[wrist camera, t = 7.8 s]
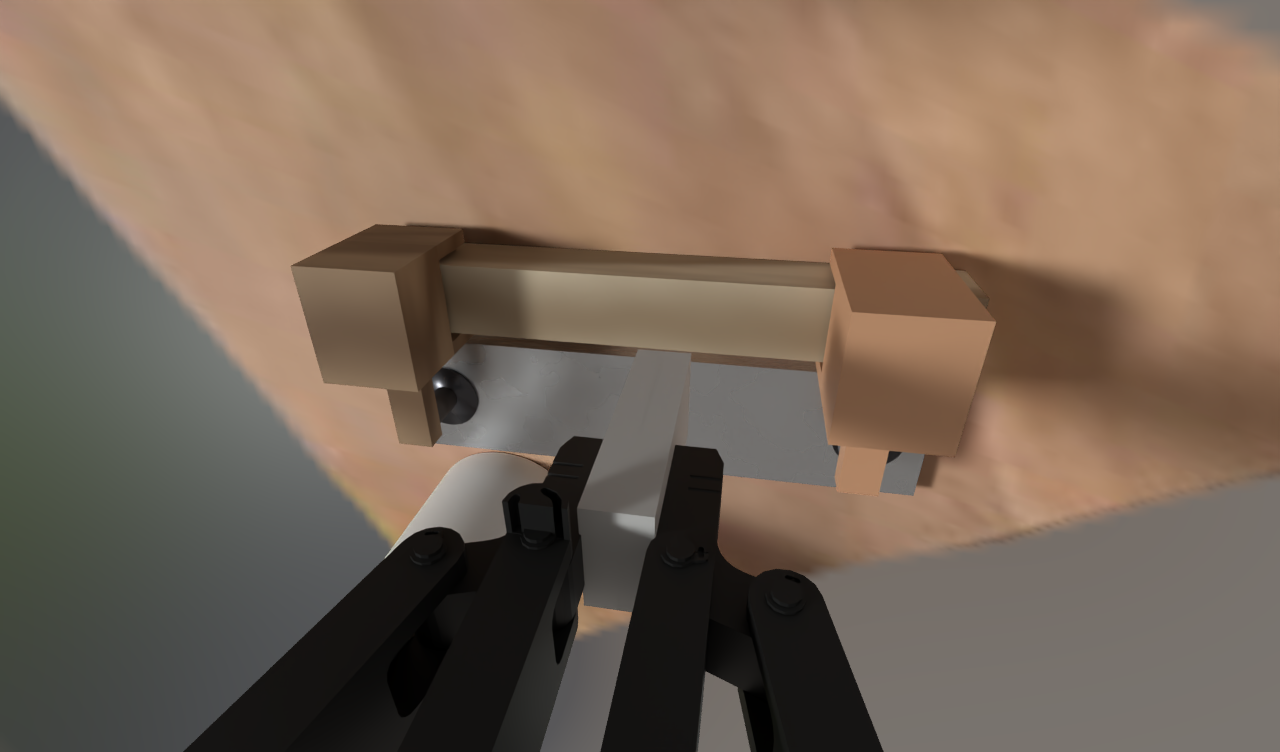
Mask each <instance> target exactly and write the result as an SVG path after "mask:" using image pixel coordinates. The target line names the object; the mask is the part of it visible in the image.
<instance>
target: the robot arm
mask: <svg viewBox="0 0 1280 752" xmlns="http://www.w3.org/2000/svg"><path fill="white" fill-rule="evenodd" d="M690 371H691V353H679V352H667V351H654V350H641V349H638V351H637V353H636V356H635V358H634V361H633V364H632V366H631V369H630V371H629V374H628V377H627V379H626V382H625V385H624V387H623V390H622V392H621V395H620V398H619V400H618V403H617V405H616V408H615V411H614V413H613V416H612V418H611V421H610V424H609V426H608V429H607V431H606V434H605V437H604V439H599V438H590V437H580V436H573V437H572V438H571V439H570V440H568V441H567V442H566V443H565V444H564V445H562V446H561V447H560V448H559V450H558V453H557V455H556V457H555V459H554V461H553V464H552V465H551V467H550V469H549V471H548V475H547V476H546V478H545V480H544V482H543V483H531V484H527V485H523V486H520V487H518V488H516V489H514V490H513V491H511V492H509V493H508V494H507V496H506V497H505V498H504V499H503V500H502V506H503V513H504V519H505V525H506V534H505V535H504V536H502V537H499V538H496V539H491V540H485V541H478V542H470V543H464V540H463V539H462V537H461V535H460V534H459V533H458V532H456V531H455V530H453V529H451V528H445V527H433V528H426V529H424V530H421V531H418V532H416V533H414V534H412V535H411V536H409V537H408V538H407V539H405V540H404V541H403V542H402V543H400V544H399V545H398V546H397V547H396V548H395V549H394V550H393V551H392V552H391V553H390V554H389V555H388V556H387V557H386V558H385V559H384V560H383V561H382V562H381V563H380V564H379V565H378V566H376V568H374V569H373V570H372V571H371V572H370V573H369V574H368V575H367V576H366V577H365V578H364V579H363V580H362V581H361V582H360V583H359V584H358V585H357V586H356V587H355V588H354V589H353V590H351V591H350V592H349V593H348V594H347V595H346V596H345V597H344V598H343V599H342V600H341V601H340V602H339V603H338V604H337V605H336V606H335V607H334V608H333V609H332V610H331V611H330V612H329V613H327V615H325V616H324V617H323V618H322V619H321V620H320V621H319V622H318V623H317V624H316V625H315V626H314V627H313V628H312V629H311V630H310V631H309V632H308V633H307V634H306V635H305V636H304V637H302V639H300V640H299V641H298V642H297V643H296V644H295V645H294V646H293V647H292V648H291V649H290V650H289V651H288V652H287V653H286V654H285V655H284V656H283V657H282V658H281V659H280V660H278V661H277V662H276V663H275V664H274V665H273V666H272V667H271V668H270V669H269V670H268V671H267V672H266V673H265V674H264V675H263V676H262V677H261V678H260V679H259V680H258V681H257V682H256V683H255V684H253V685H252V686H251V687H250V688H249V689H248V690H247V691H246V692H245V693H244V694H243V695H242V696H241V697H240V698H239V699H238V700H237V701H236V702H235V703H234V704H233V705H232V706H230V707H229V708H228V709H227V710H226V711H225V712H224V713H223V714H222V715H221V716H220V717H219V718H218V719H217V720H216V721H215V722H214V723H213V724H212V725H211V726H210V727H209V728H208V729H207V730H205V731H204V732H203V733H202V734H201V735H200V736H199V737H198V738H197V739H196V740H195V741H194V742H193V743H192V744H191V745H190V746H189V747H188V748H187V749H186V750H185V751H184V752H540V749H541V746H542V742H543V739H544V736H545V733H546V729H547V726H548V723H549V720H550V716H551V713H552V710H553V707H554V703H555V700H556V697H557V694H558V690H559V687H560V684H561V681H562V677H563V674H564V671H565V667H566V664H567V661H568V657H569V654H570V651H571V648H572V644H573V641H574V638H575V635H576V631H577V628H578V609H577V607H578V604H579V601H580V598H581V595H582V592H583V596H584V605H586V606H593V607H600V608H607V609H614V610H621V611H628V612H632V616H631V620H630V624H629V629H628V633H627V638H626V642H625V646H624V651H623V655H622V660H621V664H620V668H619V673H618V677H617V681H616V686H615V690H614V695H613V699H612V704H611V708H610V712H609V717H608V721H607V726H606V730H605V735H604V739H603V743H602V748H601V752H698V743H699V733H700V723H701V712H702V702H703V691H704V681H705V672H706V671H707V672H709V673H711V674H713V675H715V676H717V677H719V678H721V679H723V680H725V681H727V682H729V683H731V684H733V685H735V686H737V687H738V693H739V698H740V703H741V707H742V712H743V717H744V721H745V726H746V731H747V736H748V740H749V745H750V750H751V752H883V750H882V747H881V744H880V742H879V739H878V737H877V734H876V731H875V729H874V727H873V724H872V721H871V719H870V716H869V714H868V711H867V709H866V706H865V703H864V701H863V698H862V696H861V693H860V691H859V688H858V685H857V683H856V680H855V678H854V675H853V673H852V670H851V668H850V665H849V662H848V660H847V657H846V655H845V652H844V650H843V647H842V645H841V642H840V640H839V637H838V634H837V632H836V630H835V627H834V624H833V622H832V619H831V617H830V614H829V611H828V609H827V606H826V604H825V601H824V599H823V596H822V594H821V593H820V591H819V590H818V588H817V587H816V585H815V584H814V583H813V582H811V581H810V580H809V579H808V578H806V577H805V576H803V575H801V574H798V573H796V572H793V571H791V570H782V569H774V570H769V571H765V572H763V573H761V574H760V575H758V576H757V577H754V576H752V575H749V574H747V573H744V572H742V571H740V570H738V569H737V568H735V567H733V566H732V565H731V564H730V563H728V562H727V561H726V560H725V559H724V557H723V556H722V555H721V553H720V551H719V548H718V546H717V539H718V529H719V518H720V507H721V494H722V482H723V469H724V462H723V460H722V459H721V457H720V455H719V453H718V451H717V449H711V448H702V447H692V446H686V441H687V436H688V419H689V395H690Z"/></svg>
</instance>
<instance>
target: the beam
mask: <svg viewBox="0 0 1280 752" xmlns="http://www.w3.org/2000/svg"><path fill="white" fill-rule="evenodd" d="M439 263H440V270H441V276H442V282H443V288H444V294H445V300H446V306H447V313H448V319H449V325H450V331H451V333H462V334H475V335H487V336H500V337H512V338H525V339H537V340H550V341H562V342H575V343H587V344H600V345H613V346H625V347H638V348H650V349H663V350H675V351H688V352H700V353H713V354H726V355H738V356H751V357H763V358H776V359H788V360H801V361H813V362H823V359H824V353H825V347H826V341H827V335H828V329H829V322H830V316H831V310H832V304H833V298H834V292H835V286H836V284H835V280H834V276H833V273H832V269H831V266H830V263H817V262H799V261H781V260H763V259H745V258H727V257H709V256H691V255H673V254H655V253H637V252H619V251H601V250H583V249H565V248H547V247H529V246H511V245H493V244H475V243H463V244H462V245H460V246H459V247H458V248H456V249H455V250H453V251H452V252H450V253H449V254H447V255H446V256H444V257H443V258H442V259H440V260H439ZM955 271H956V272H957V273H958V275H959V276H960V277H961V278H962V280H963V281H964V282H965V283H966V285H967V286H968V287H969V288H970V290H971V291H972V292H973V293H974V295H975V296H976V297H977V298H978V300H979V301H980V302H981V303H982V305H983V306H984V307H985V308H986V309H987V305H988V302H989V298H988V297H987V295H986V294H985V293H984V292H983V291H982V290H981V288H980V287H979V286H978V285H977V284H976V282H975V281H974V280H973V279H972V278H971V277H970V275H969V274H968V273H967V272H966V271H961V270H955Z"/></svg>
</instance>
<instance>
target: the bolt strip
mask: <svg viewBox="0 0 1280 752" xmlns="http://www.w3.org/2000/svg"><path fill="white" fill-rule="evenodd" d="M638 349H641V350H654V351H667V352H679V353H691V371H690V395H689V419H688V436H687V441H686V446H692V447H702V448H711V449H717V451H718V453H719V455H720V457H721V459H722V460H723V462H724V469H723V475H729V476H738V477H747V478H757V479H766V480H775V481H784V482H793V483H802V484H811V485H820V486H830V487H836V482H835V472H836V467H837V462H838V457H839V450H838V446H837V445H828V441H827V435H826V428H825V421H824V415H823V408H822V402H821V395H820V388H819V382H818V375H817V369H816V362H813V361H801V360H788V359H776V358H763V357H751V356H738V355H726V354H713V353H700V352H688V351H675V350H663V349H650V348H638V347H625V346H613V345H600V344H587V343H575V342H562V341H550V340H537V339H525V338H512V337H500V336H487V335H475V334H474V335H473V336H472V337H471V338H470V339H469V340H468V341H467V342H466V344H465V345H464V346H463V347H462V348H461V349H460V350H459V351H458V352H457V353H456V354H455V355H454V356H453V357H452V358H451V359H450V360H449V361H448V362H447V363H446V364H445V365H444V366H443V367H442V368H441V369H440V370H439V371H438V372H437V373H436V374H435V375H434V376H433V377H432V382H433V387H434V391H435V390H436V389H438V388H440V387H445V388H448V389H450V390H452V391H453V392H454V393H455V395H456V397H457V404H456V405H455V406H454V408H453V409H452V410H451V411H450V412H449V414H448V415H447V416H446V417H445V418H444V420H443V421H442V422H441V423H440V425H441V430H442V436H441V437H440V438H439V439H438V441H437V442H436V443H437V444H446V445H456V446H465V447H474V448H483V449H492V450H501V451H510V452H519V453H528V454H538V455H547V456H556V455H557V453H558V450H559V448H560V447H561V446H562V445H564V444H565V443H566V442H567V441H568V440H570V439H571V438H572V437H573V436H580V437H590V438H599V439H604V437H605V434H606V431H607V429H608V426H609V424H610V421H611V418H612V416H613V413H614V411H615V408H616V405H617V403H618V400H619V398H620V395H621V392H622V390H623V387H624V385H625V382H626V379H627V377H628V374H629V371H630V369H631V366H632V364H633V361H634V358H635V356H636V353H637V351H638ZM924 455H925V454H917V453H907V452H897V451H889V453H888V458H887V462H886V466H885V470H884V474H883V478H882V483H881V487H880V491H879V492H884V493H893V494H903V495H912V496H913V495H914V492H915V488H916V484H917V481H918V477H919V474H920V470H921V466H922V463H923V459H924Z"/></svg>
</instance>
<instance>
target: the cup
mask: <svg viewBox="0 0 1280 752" xmlns="http://www.w3.org/2000/svg"><path fill="white" fill-rule="evenodd" d="M547 475H548V470H546V469H545V468H543V467H542V466H540V465H538V464H536V463H534V462H532V461H530V460H528V459H525V458H523V457H520V456H516V455H512V454H507V453H500V452H485V453H478V454H474V455H471V456H468V457H466V458H464V459H462V460H460V461H459V462H457V463H456V464H455V465H453V466H452V467H451V468H450V470H449V471H448V472H447V473H446V475H445V476H444V477H443V479H442V480H441V482H440V483H439V484H438V486H437V487H436V488H435V490H434V491H433V493H432V494H431V495H430V497H429V498H428V499H427V501H426V502H425V504H424V505H423V506H422V508H421V509H420V510H419V512H418V513H417V514H416V516H415V517H414V519H413V520H412V521H411V523H410V524H409V525H408V527H407V528H406V530H405V531H404V532H403V534H402V535H401V536H400V538H399V539H398V541H397V542H396V543H395V545H394V546H393V547H392V549H391V550H390V552H389V553H388V554H387V556H388V555H389V554H390V553H391V552H392V551H393V550H394V549H395V548H396V547H397V546H398V545H399V544H400V543H402V542H403V541H404V540H405V539H407V538H408V537H409V536H411V535H412V534H414V533H416V532H418V531H421V530H424V529H426V528H433V527H445V528H451V529H453V530H455V531H456V532H458V533H459V534H460V535H461V537H462V539H463V540H464V543H470V542H478V541H485V540H491V539H496V538H499V537H502V536H504V535H505V534H506V525H505V519H504V513H503V506H502V500H503V499H504V498H505V497H506V496H507V494H508V493H509V492H511V491H513V490H514V489H516V488H518V487H520V486H523V485H527V484H531V483H543V482H544V480H545V478H546V476H547ZM387 556H386V557H387ZM386 557H385V558H386ZM385 558H384V559H385Z"/></svg>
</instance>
